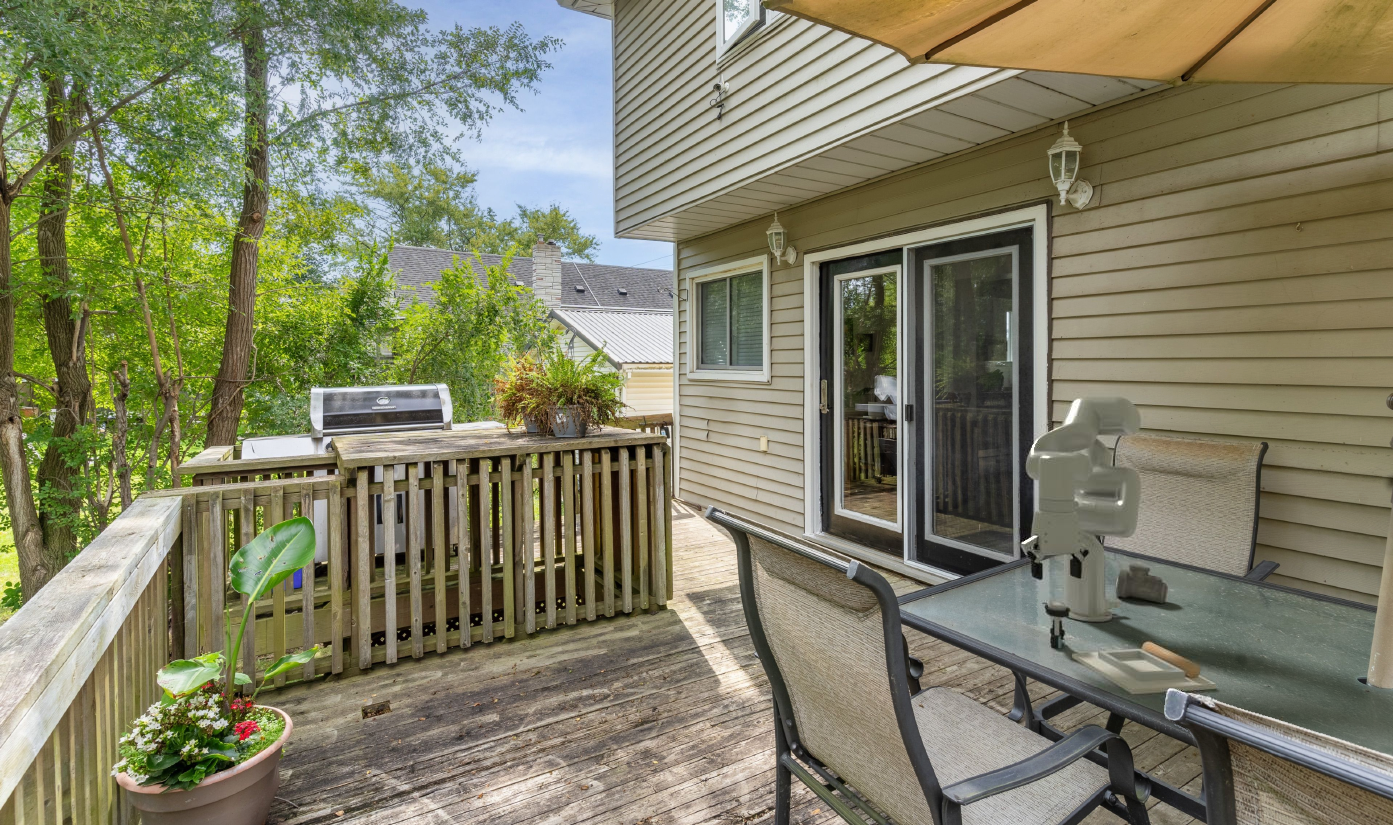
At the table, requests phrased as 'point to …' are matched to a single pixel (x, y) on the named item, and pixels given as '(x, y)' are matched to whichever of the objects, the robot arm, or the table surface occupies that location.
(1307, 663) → the table surface
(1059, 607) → the push button
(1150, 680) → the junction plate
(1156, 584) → the pipe fitting
